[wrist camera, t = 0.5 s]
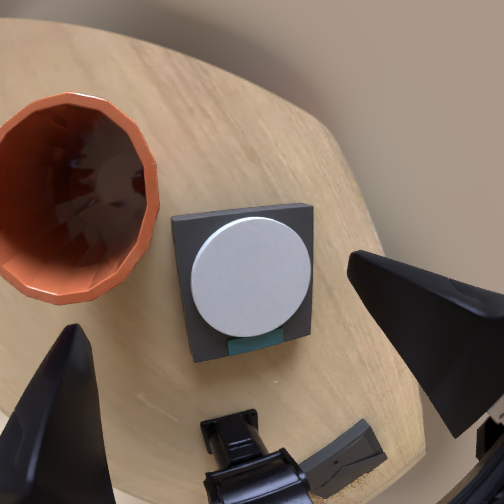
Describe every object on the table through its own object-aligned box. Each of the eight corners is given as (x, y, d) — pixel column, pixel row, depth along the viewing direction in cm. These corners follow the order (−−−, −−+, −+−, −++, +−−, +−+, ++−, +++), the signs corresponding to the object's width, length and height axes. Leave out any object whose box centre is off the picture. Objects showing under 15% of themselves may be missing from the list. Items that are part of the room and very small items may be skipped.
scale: (300, 325, 28) (314, 338, 26) (190, 350, 25) (196, 368, 22) (301, 202, 25) (319, 206, 22) (170, 216, 21) (173, 222, 19)
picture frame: (380, 450, 47) (363, 418, 39) (387, 458, 44) (373, 428, 36) (321, 492, 45) (283, 473, 36) (327, 501, 42) (290, 485, 34)
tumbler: (156, 223, 21) (170, 289, 9) (72, 236, 19) (-1, 313, 7) (149, 133, 19) (153, 78, 7) (63, 147, 17) (-29, 122, 5)
